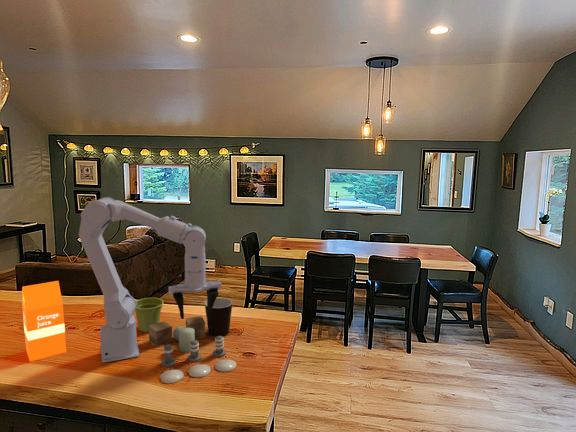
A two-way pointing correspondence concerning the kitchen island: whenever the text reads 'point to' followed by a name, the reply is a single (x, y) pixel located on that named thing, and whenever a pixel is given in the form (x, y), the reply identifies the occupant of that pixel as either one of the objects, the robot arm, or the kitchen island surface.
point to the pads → (197, 371)
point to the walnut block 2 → (196, 325)
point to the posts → (193, 352)
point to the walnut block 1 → (160, 333)
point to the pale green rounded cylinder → (186, 339)
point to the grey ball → (177, 332)
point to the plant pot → (148, 312)
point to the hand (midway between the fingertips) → (195, 315)
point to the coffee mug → (219, 317)
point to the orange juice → (43, 320)
